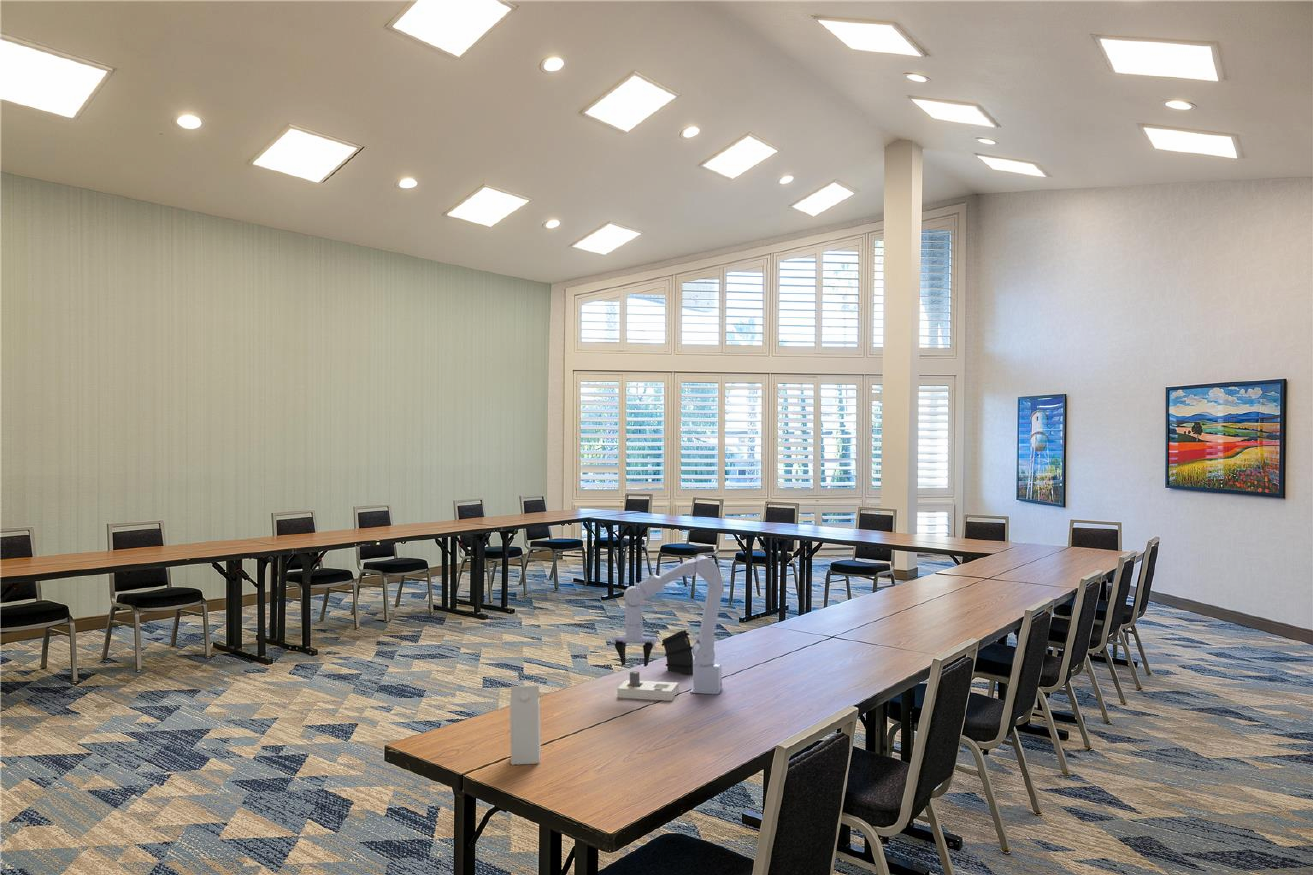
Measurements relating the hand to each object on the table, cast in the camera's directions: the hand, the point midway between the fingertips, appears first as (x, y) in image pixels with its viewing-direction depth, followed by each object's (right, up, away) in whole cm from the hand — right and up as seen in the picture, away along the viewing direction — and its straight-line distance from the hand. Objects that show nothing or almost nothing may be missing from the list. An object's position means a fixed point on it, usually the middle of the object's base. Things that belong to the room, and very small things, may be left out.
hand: (634, 665), depth 275 cm
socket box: (+4, -9, -1) cm, 10 cm away
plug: (0, -9, 0) cm, 9 cm away
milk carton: (-27, -9, -57) cm, 64 cm away
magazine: (+15, -10, +27) cm, 32 cm away
